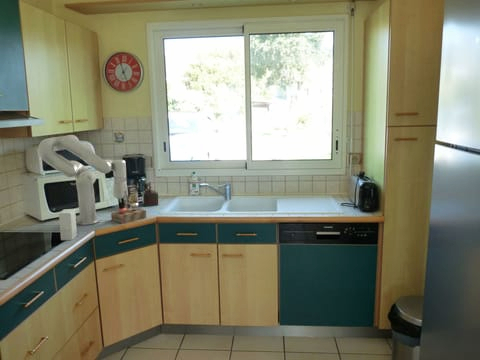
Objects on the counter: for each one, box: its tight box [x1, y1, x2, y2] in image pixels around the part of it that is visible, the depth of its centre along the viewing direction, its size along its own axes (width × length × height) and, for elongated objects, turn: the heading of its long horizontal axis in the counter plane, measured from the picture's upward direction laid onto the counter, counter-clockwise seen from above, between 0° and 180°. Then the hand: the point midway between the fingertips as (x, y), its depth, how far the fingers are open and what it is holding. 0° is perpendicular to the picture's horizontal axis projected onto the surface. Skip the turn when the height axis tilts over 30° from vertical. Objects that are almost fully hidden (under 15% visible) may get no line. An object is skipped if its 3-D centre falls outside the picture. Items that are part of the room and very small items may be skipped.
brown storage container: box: [141, 182, 159, 207], centre depth 293 cm, size 16×11×18 cm
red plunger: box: [117, 208, 126, 214], centre depth 254 cm, size 5×5×5 cm
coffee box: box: [124, 184, 139, 209], centre depth 286 cm, size 9×6×16 cm
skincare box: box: [58, 208, 78, 241], centre depth 220 cm, size 8×7×16 cm
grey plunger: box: [131, 202, 139, 211], centre depth 260 cm, size 5×5×5 cm
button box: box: [110, 207, 147, 225], centre depth 258 cm, size 18×12×5 cm, turn 137°
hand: (121, 208), depth 253 cm, fingers closed
